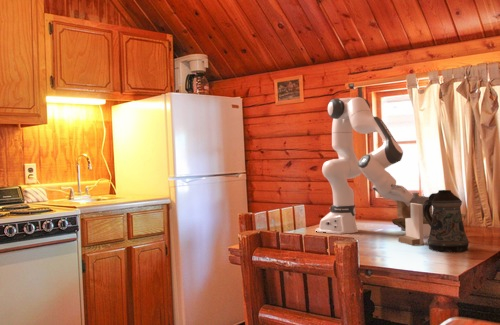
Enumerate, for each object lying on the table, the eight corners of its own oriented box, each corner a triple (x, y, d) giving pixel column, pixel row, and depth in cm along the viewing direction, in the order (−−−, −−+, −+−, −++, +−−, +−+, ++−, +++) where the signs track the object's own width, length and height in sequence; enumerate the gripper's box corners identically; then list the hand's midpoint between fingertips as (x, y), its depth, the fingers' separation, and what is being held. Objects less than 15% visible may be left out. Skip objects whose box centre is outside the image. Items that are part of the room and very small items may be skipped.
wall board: (398, 241, 233) (397, 203, 233) (409, 240, 235) (408, 202, 235) (412, 245, 223) (411, 205, 223) (423, 244, 225) (422, 204, 225)
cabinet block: (402, 218, 225) (402, 194, 225) (396, 217, 230) (396, 193, 229) (410, 217, 227) (410, 193, 226) (404, 216, 231) (404, 193, 231)
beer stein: (465, 254, 202) (464, 192, 202) (416, 250, 212) (415, 191, 212) (471, 246, 216) (470, 189, 216) (425, 243, 226) (424, 188, 226)
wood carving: (468, 237, 239) (467, 214, 239) (392, 236, 248) (391, 214, 247) (465, 234, 248) (464, 211, 247) (392, 233, 256) (391, 211, 256)
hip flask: (401, 231, 263) (400, 193, 262) (400, 229, 267) (399, 192, 266) (433, 230, 261) (432, 192, 260) (431, 229, 265) (430, 191, 264)
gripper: (403, 180, 216) (423, 201, 219) (378, 178, 235) (396, 197, 238) (395, 191, 214) (414, 212, 218) (369, 187, 234) (388, 207, 237)
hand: (404, 204), depth 228 cm, fingers closed on cabinet block, 4 cm apart
